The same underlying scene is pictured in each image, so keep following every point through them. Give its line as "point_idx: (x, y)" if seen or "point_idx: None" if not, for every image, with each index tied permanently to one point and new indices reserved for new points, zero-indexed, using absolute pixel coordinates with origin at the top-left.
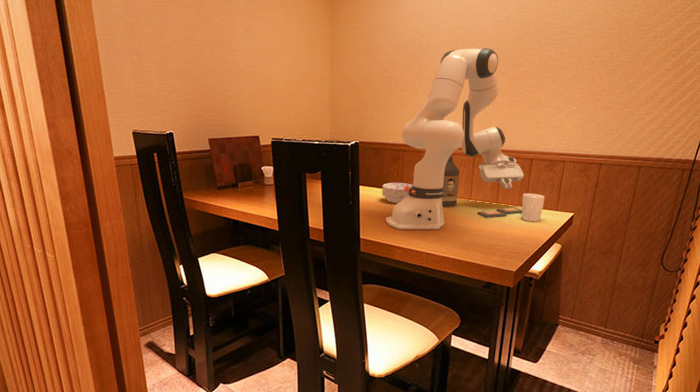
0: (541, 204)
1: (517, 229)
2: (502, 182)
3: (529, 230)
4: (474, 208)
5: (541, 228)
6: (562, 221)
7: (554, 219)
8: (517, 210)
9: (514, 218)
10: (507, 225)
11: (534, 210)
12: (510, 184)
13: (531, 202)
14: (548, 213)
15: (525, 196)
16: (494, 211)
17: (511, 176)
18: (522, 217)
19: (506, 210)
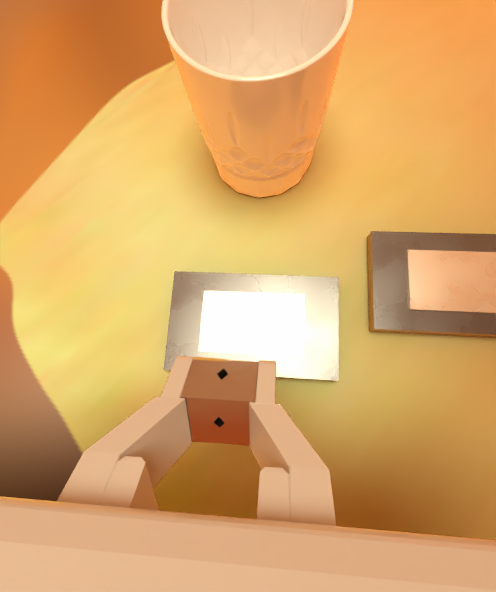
0: (244, 6)
1: (480, 28)
2: (307, 453)
3: (428, 8)
4: (469, 506)
5: None
6: (124, 92)
7: (128, 128)
8: (219, 292)
9: (345, 190)
10: (490, 88)
11: (292, 55)
12: (178, 384)
13: (321, 8)
14: (37, 235)
15: (351, 5)
16: (422, 300)
17: (7, 509)
18: (309, 162)
19: (304, 308)
